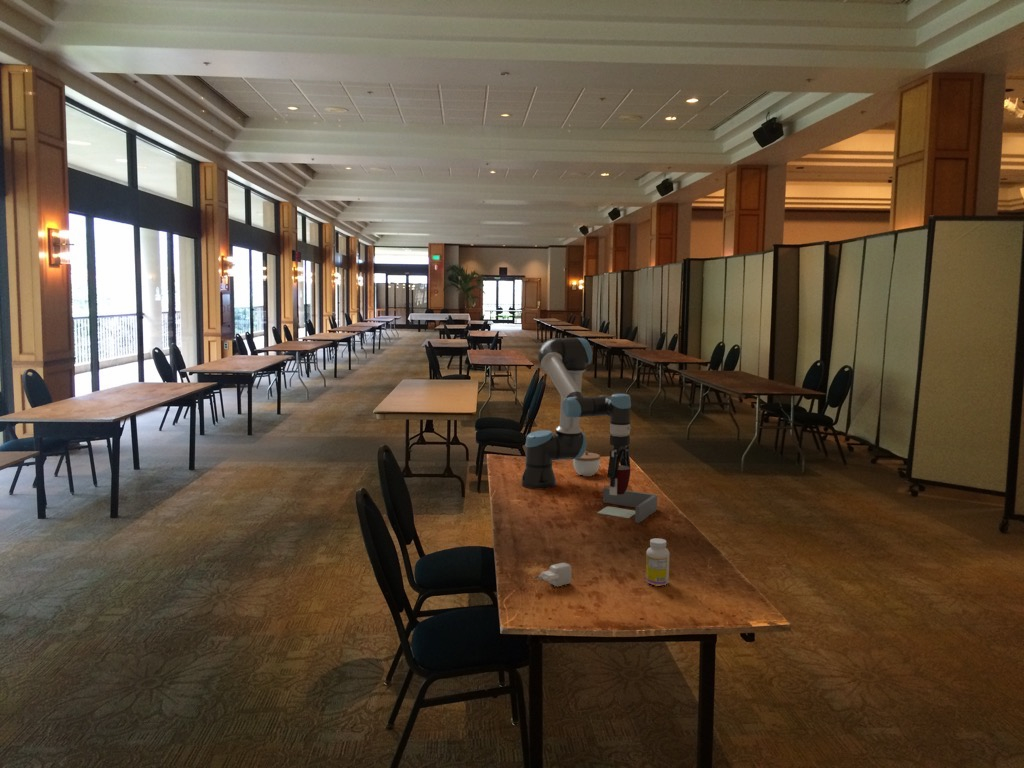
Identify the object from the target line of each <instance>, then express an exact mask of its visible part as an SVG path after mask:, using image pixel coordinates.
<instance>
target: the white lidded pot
mask: <svg viewBox="0 0 1024 768" xmlns="http://www.w3.org/2000/svg"><path fill="white" fill-rule="evenodd" d="M600 462H601V455H600V454H598V453H595V452H589V451H588V450H585V453H584V454H583V455H582V456H581V457H580V458H575V459H572V463H573V467H574V471H576V473H577V474H578V475H579V476H580V475H583V476H582V477H593V476H594V475H595V474H596V473H597V472H598V470H599V468H600ZM592 475H593V476H592Z"/></svg>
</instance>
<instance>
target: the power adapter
mask: <svg viewBox="0 0 1024 768" xmlns="http://www.w3.org/2000/svg"><path fill="white" fill-rule="evenodd" d="M572 570H573V569H572V566H571V565H570V564H569V563H567V562H560V563H554V564H551V565H550V566H549V570H545V571H541V573H540V574H539V575H534V579H539V582H543V581H547V582H549V584H550V583H551V584H553V585H554V586H553V585H552V586H553V587H555V586H560V585H564V584H568V583H570V584H572V577H573V575H572V574H573V573H572V572H573V571H572ZM551 584H550V585H551Z"/></svg>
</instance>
